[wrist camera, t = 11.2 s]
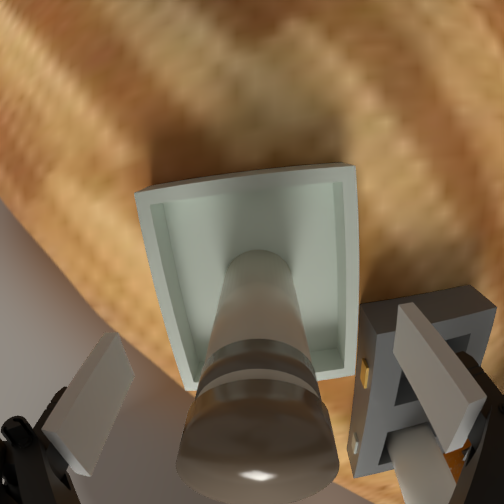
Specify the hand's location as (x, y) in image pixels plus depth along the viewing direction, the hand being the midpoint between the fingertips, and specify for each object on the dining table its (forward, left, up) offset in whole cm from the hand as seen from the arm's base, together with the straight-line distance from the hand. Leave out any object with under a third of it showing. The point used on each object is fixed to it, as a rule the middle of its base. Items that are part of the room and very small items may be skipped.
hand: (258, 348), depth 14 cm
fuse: (+17, +12, -7) cm, 22 cm away
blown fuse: (0, 0, -7) cm, 7 cm away
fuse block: (+12, +12, -8) cm, 19 cm away
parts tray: (0, 0, -8) cm, 8 cm away
